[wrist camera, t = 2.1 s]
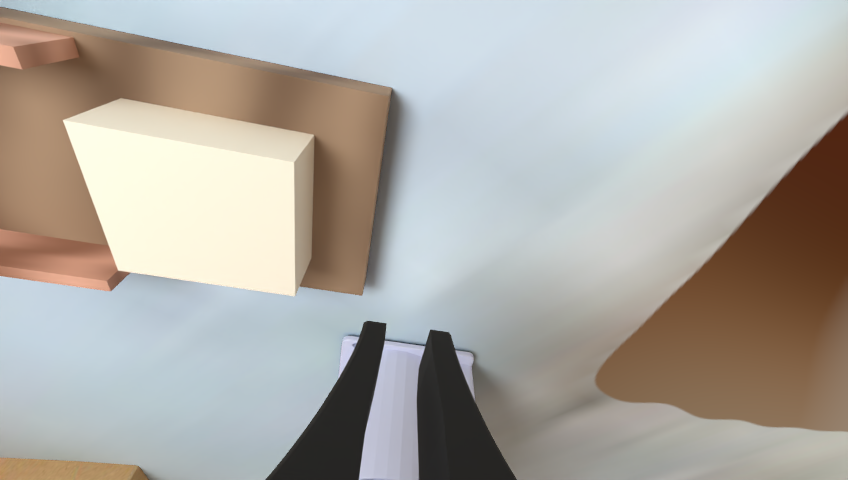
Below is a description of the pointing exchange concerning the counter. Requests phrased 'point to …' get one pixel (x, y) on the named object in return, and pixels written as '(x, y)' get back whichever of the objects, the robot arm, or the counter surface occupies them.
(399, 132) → the counter surface
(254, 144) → the carton
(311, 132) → the open-sided wooden box
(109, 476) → the sandwich container
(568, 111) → the counter surface
